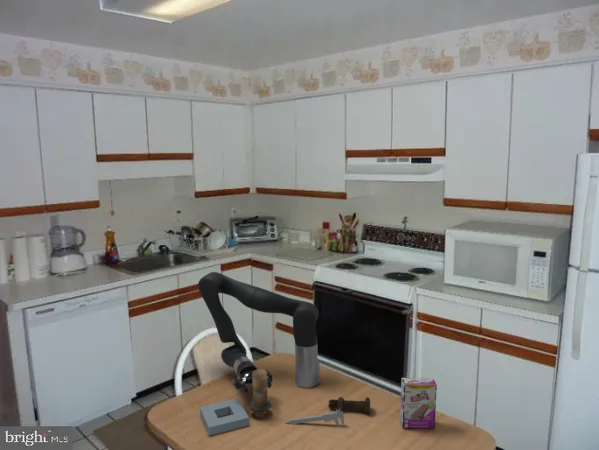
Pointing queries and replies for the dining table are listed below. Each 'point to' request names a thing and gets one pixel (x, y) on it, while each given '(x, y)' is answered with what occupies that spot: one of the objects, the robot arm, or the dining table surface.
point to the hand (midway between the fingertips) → (258, 388)
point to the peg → (260, 393)
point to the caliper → (320, 418)
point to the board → (226, 423)
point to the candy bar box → (418, 403)
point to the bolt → (350, 404)
